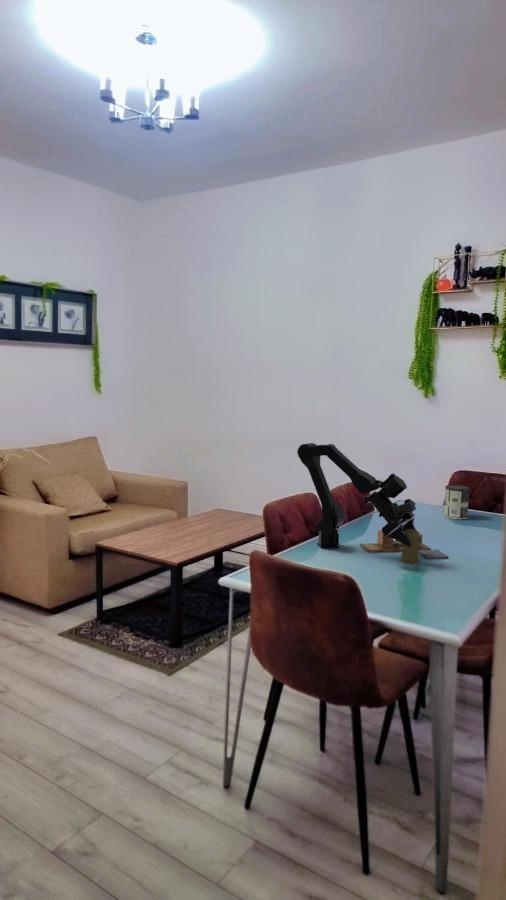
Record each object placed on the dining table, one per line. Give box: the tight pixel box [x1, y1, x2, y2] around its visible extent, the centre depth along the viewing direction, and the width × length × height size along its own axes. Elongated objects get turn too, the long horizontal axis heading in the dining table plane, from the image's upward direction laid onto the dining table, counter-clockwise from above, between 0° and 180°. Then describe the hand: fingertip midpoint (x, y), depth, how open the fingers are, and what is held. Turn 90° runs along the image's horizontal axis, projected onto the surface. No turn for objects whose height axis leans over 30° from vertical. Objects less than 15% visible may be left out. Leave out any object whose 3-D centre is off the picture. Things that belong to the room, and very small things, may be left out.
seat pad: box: [418, 549, 449, 560], centre depth 208 cm, size 8×8×1 cm
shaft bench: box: [359, 532, 432, 554], centre depth 215 cm, size 24×8×6 cm, turn 99°
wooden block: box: [376, 529, 404, 548], centre depth 215 cm, size 10×5×5 cm, turn 99°
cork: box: [400, 529, 420, 565], centre depth 200 cm, size 6×6×11 cm
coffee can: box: [443, 484, 470, 521], centre depth 267 cm, size 10×10×14 cm
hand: (414, 542), depth 199 cm, fingers open, 9 cm apart
